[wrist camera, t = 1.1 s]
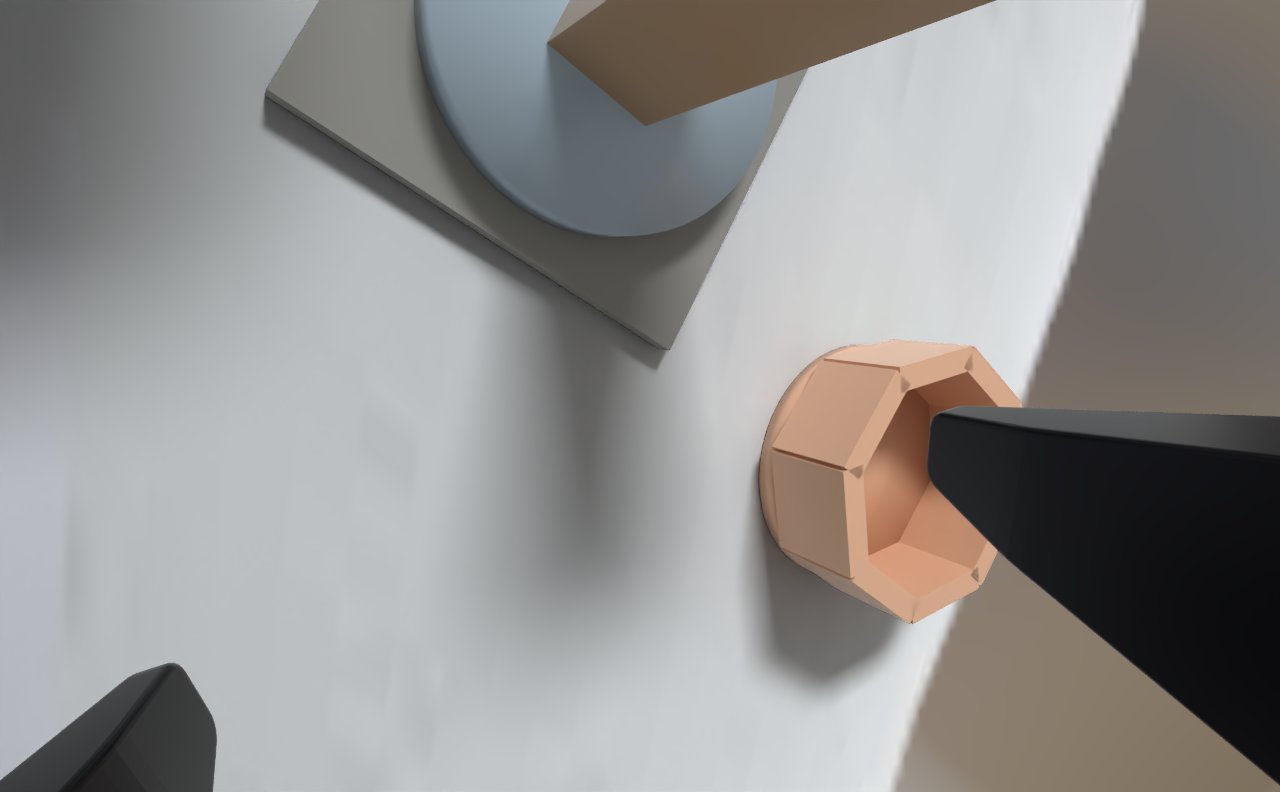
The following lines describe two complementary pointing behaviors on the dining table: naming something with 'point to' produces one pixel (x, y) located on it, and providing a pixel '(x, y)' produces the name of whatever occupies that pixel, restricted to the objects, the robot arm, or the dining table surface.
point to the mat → (441, 173)
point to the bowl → (876, 474)
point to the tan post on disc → (631, 94)
